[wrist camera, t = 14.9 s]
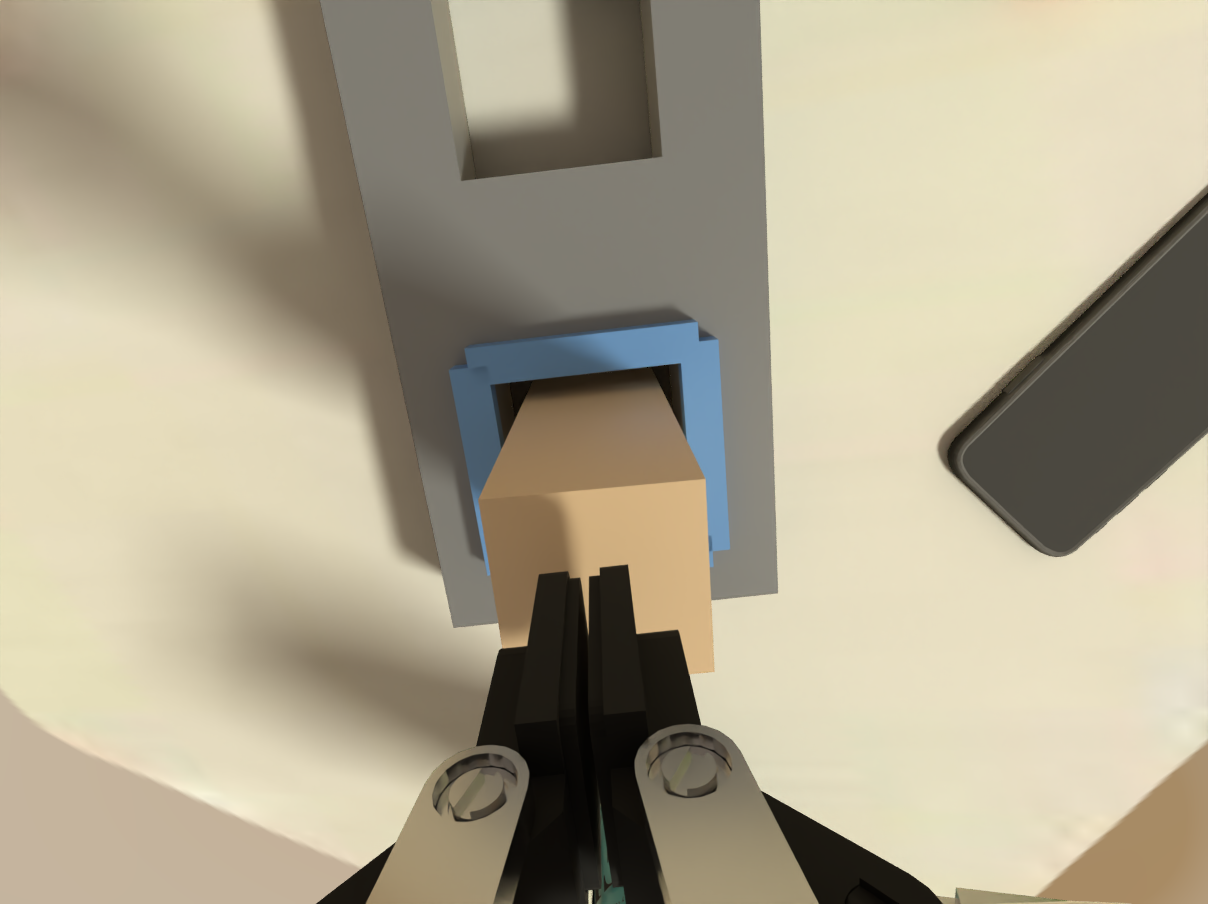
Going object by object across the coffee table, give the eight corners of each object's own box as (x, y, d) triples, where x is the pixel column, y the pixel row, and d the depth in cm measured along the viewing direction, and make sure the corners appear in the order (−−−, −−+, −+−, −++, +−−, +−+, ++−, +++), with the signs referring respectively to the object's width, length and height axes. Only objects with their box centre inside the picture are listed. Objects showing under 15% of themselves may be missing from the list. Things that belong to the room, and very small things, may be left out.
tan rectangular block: (533, 378, 24) (478, 500, 12) (651, 367, 24) (705, 479, 12) (547, 488, 25) (509, 689, 14) (658, 478, 25) (714, 671, 13)
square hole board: (327, -122, 19) (264, -209, 15) (727, -173, 19) (759, -275, 15) (468, 586, 26) (448, 640, 23) (757, 555, 26) (784, 604, 22)
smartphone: (1390, 277, 23) (1060, 570, 26) (1360, 276, 24) (1044, 560, 27) (1278, 130, 21) (941, 461, 24) (1250, 135, 22) (929, 454, 25)
